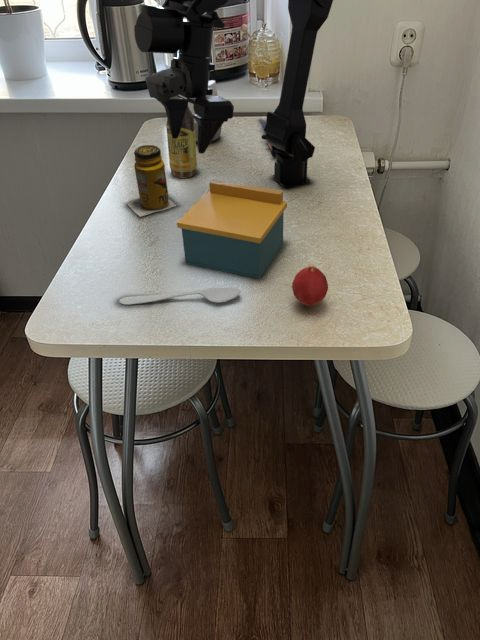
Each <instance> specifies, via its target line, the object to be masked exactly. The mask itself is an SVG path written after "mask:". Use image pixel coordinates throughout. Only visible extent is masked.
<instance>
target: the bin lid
mask: <svg viewBox="0 0 480 640" xmlns="http://www.w3.org/2000/svg"><path fill="white" fill-rule="evenodd" d="M287 208H288V201H285V200H284V191H283V190H279V189H273V188H266V187H261V186H254V185H249V184H242V183H237V182H231V181H225V180H218V179H212V180H210V182H209V189H208V190H207V191H206V192H205V193H204V194H203V195H202V196H201V197H200V198H199V199H198V200H197V201H196V202H195V203H194V204H193V205H192V206H191V207H190V208H189V209H188V210H187V211H186V213H184V214H183V215H182V217H180V218H179V219H178V221H176V226H177V228H178V229H181V228H182V229H188V230H193V231H198V232H203V233H208V234H214V235H219V236H224V237H229V238H235V239H240V240H245V241H250V242H255V243H261V242H262V240H263V239H264V238H265V236H266V235H267V234H268V232H269V231H270V229H271V228H272V227H273V225H274V224H275V223H276V221H277V220H278V218H279V217H280V216H281V214H282V213H283V212H285V211H286V209H287ZM283 214H284V213H283ZM182 229H181V230H182Z"/></svg>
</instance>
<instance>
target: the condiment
mask: <svg viewBox="0 0 480 640" xmlns="http://www.w3.org/2000/svg"><path fill="white" fill-rule="evenodd" d="M133 154H134V165H133V167H134V171H135V178H136V179H135V180H136V184H137V190H138V195H139V197H138V198H136V199H133V200H128V201H126V202H125V204H126V205H127V206H128V207H129V208H130V209H131V210H132V212H134V213H135V214H136V215H138V217H139V218H141V217H144V216H147V215H151V214H153V213H158V212H161V211H165V210H168V209H171V208H174V207H176V206H177V205H176V203H174V202H173V201H172V200H171V199H170V198H169V190H168V183H167V176H166V175H167V174H166V167H165V162H164V160H163V158H162V152H161V149H160V147H159V146H158V145H153V144H144V145H141V146H138V147H136V149H134V152H133Z"/></svg>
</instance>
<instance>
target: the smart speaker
mask: <svg viewBox="0 0 480 640" xmlns="http://www.w3.org/2000/svg"><path fill="white" fill-rule="evenodd" d="M208 88H211V89H213V93H212V95H206V96H219V95H218V89H217V83H216V80H215V79H212V80H209V83H208ZM194 99H196V98H194ZM193 106H194V104H192V103H190V102H188V107H189V109H190V110H191V112H192V114H193V115H196V114H195V112H194V109H193ZM222 126H223V125H222ZM222 126H221V127H220V128H219V130H218V131H217V133H216V134H215V136H214V137H213V139H212V141H211V142H210V143H212V142H214V141H216V140H218V139H219V138H220V136H221V133H222V129H223V128H222ZM194 128H195V140H196V143H198V123H197V122H196V121H195V119H194Z"/></svg>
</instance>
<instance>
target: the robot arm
mask: <svg viewBox="0 0 480 640" xmlns="http://www.w3.org/2000/svg"><path fill="white" fill-rule="evenodd" d="M230 1H231V0H165V1H164V3H163V4H162V5H161V6H154V5H151V4H146V3H143V4H142V5H141V12H140V13H139V14H138V16H137V18H136V22H135V24H134V29H133V31H134V32H133V33H134V40H135V43H136V44H135V45H136V47H137V48H138V50H139V51H140V52H141V53H145V54H146V53H147V54H172V55H173V54H176V53H177V57H172V59H171V60H170V67H168V68H166V69H162V70H159V71H157V72H154V73H153V74H150V75H147V76H146V77H145V83H146V87H147V91H148V95H149V97H150V98H151V99H155V100H156V101H157V102H159V103H160V104H161V105H162V106H163V108H164V111H165V114H166V117H167V118H168V122H169V127H170V131H171V135H172V138H178V136H179V133H180V130H181V127H182V123H183V120H184V116H185V112H186V109H187V105H188V102H190V103H192V104H194V106H193V109H194V112H195V114H196V115H192V116H193V118H194V119H195V121H196V122H197V123H198V142H197V151H198V153H199V154H200V155H201V154H205V153H206V151H207V149H208V147H209V146H210V144H211V143H212V142H213V141H212V139H213V137H214V136H215V134H216V133H217V131H218V130H219V128H220V127H221V126H223V125H224V123H225V122H228V121H229V119H231V120H232V119H233V117H234V110H235V106H234V105H233V103H232V102H231V101H230V100H229V99H226V98H224V97H222V96H220V95H218V96H206V95H212V93H213V89H211V88H208V83H209V81H210V72H212V71H213V72H214V71H215V70H216V63H212V62H211V60H212V49H213V48H212V47H213V37H214V28H215V29H224V28H225V26H226V25H225V22H224V21H223V20H222V19H221V18H220V16H219V14H218V12H217V10H219V9H220V8H222V7H223V6H226V5H227V4H229V2H230ZM333 2H334V0H288V1H287V10H288V15H289V18H290V23H291V32H290V39H289V44H288V50H287V57H286V62H285V66H284V67H285V68H284V74H283V79H282V85H281V90H280V97H279V102H278V105H277V107H276V108H275V109H274V110H273V112H271V111H268V112H267V113H266V119H265V120H266V121H265V122H266V126H265V128H264V130H263V132H264V131H265V132H266V136H265V137H266V140H265V141H266V142H267V141H268V142H267V144H268V143H269V144H270V145H271V148H272V150H273V151H276V152H278V153H277V154H276V157H275V158H276V159H275V161H274V174H273V175H272V179H273V180H275V181H276V182H278V184H279V185H281V186H282V187H283V188H284V189H289V188H294V187H297V186H301V185H305V184H306V185H307V184H310V183H311V179H310V178H309V177H308V160H309V159H311V158H313V156H314V152H315V150H316V147H315V146H314V145H313V143H311V141H309V139H307V137H306V136H307V135H306V134H307V121H306V118H305V113H304V102H305V99H306V92H307V87H308V83H309V82H308V81H309V78H310V72H311V67H312V62H313V60H312V59H313V55H314V50H315V46H316V40H317V35H318V32H319V31H320V29H321V27H322V26H323V25H324V24H325V22H326V21H327V20H328V18H329V15H330V12H331V9H332V6H333ZM194 98H196V99H194ZM167 118H166V119H167ZM265 132H264V133H265ZM211 141H212V142H211Z"/></svg>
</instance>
